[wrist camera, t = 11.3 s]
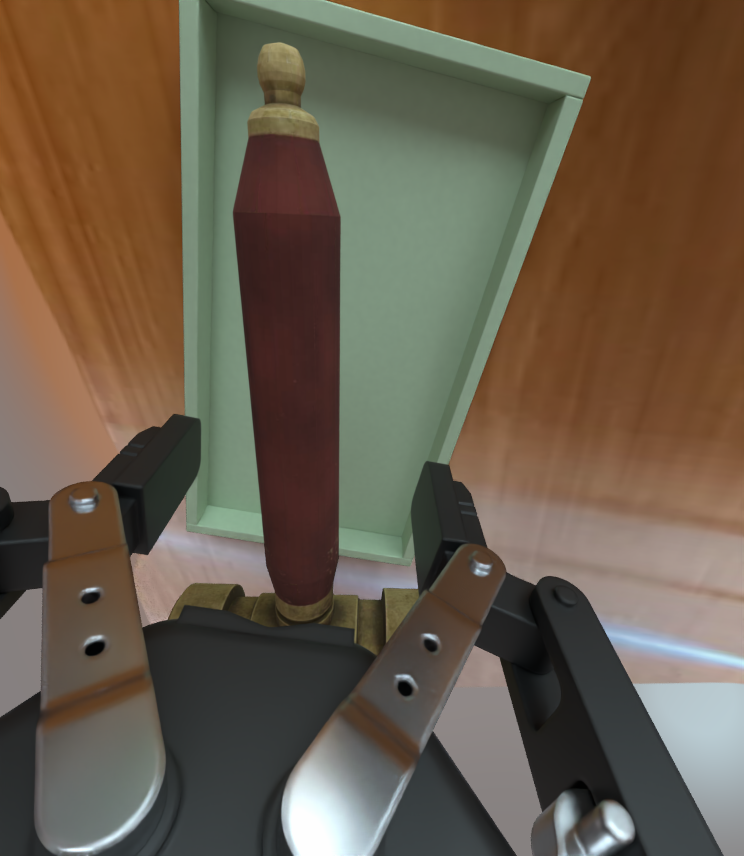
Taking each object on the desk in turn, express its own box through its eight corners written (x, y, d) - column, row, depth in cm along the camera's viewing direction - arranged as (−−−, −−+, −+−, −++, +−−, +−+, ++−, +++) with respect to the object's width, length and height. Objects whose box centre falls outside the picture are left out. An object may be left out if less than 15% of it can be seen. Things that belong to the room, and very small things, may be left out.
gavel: (-75, -34, 6) (566, 1, 7) (99, 67, 11) (491, 87, 11) (166, 740, 16) (432, 745, 16) (208, 632, 20) (419, 637, 20)
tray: (205, -11, 16) (177, -43, 14) (565, 90, 18) (592, 76, 15) (200, 504, 29) (186, 531, 27) (407, 539, 30) (410, 567, 28)
